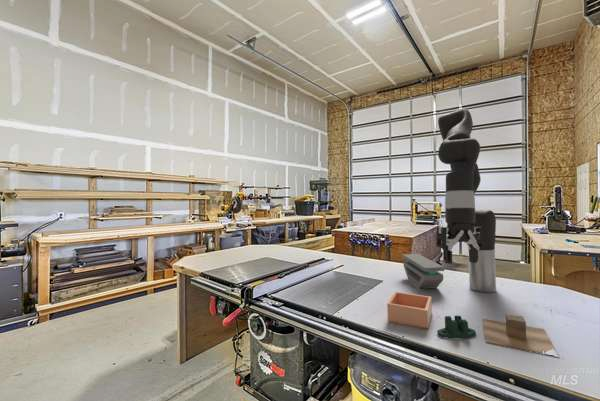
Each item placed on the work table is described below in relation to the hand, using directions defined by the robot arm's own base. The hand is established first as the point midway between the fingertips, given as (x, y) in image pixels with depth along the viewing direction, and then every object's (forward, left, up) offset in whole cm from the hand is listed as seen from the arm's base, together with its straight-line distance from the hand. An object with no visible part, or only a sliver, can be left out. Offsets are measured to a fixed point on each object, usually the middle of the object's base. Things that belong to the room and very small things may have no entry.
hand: (460, 262), depth 78 cm
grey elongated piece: (-42, -16, -22) cm, 50 cm away
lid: (-6, +13, -22) cm, 26 cm away
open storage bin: (-5, -15, -21) cm, 27 cm away
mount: (0, -2, -22) cm, 22 cm away
